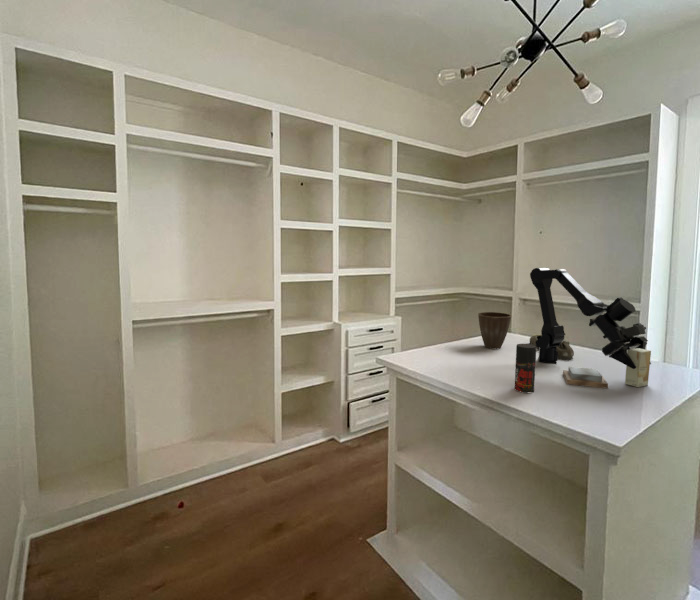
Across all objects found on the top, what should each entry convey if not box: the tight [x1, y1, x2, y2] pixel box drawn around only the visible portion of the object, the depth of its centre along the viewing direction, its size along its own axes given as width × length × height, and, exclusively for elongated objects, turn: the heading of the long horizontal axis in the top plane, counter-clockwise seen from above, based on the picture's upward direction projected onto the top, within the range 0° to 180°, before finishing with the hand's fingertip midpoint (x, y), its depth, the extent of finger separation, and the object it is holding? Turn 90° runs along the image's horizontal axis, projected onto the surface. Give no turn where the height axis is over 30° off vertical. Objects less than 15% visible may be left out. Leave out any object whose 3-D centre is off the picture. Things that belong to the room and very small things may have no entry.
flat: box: [529, 334, 575, 360], centre depth 183 cm, size 11×33×8 cm, turn 176°
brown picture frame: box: [562, 366, 609, 389], centre depth 140 cm, size 12×12×4 cm
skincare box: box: [624, 348, 652, 388], centre depth 135 cm, size 6×4×12 cm
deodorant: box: [514, 343, 537, 393], centre depth 130 cm, size 6×6×15 cm
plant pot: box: [477, 311, 512, 350], centre depth 190 cm, size 15×15×16 cm
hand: (642, 366), depth 134 cm, fingers open, 9 cm apart
